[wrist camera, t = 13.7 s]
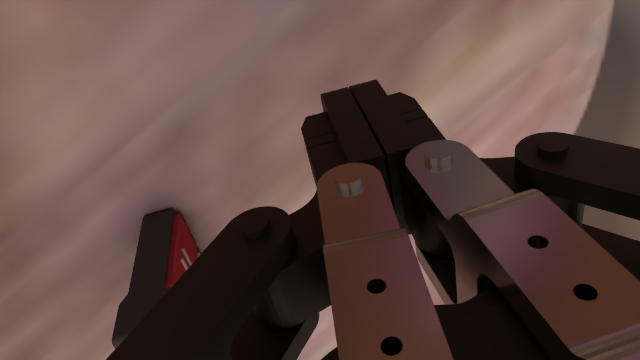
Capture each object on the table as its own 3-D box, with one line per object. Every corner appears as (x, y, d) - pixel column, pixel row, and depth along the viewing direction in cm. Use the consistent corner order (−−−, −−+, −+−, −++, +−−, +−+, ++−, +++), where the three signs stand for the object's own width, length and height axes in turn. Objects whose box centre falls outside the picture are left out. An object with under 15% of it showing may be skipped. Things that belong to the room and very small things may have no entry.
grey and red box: (218, 280, 55) (218, 407, 43) (180, 291, 55) (169, 421, 42) (179, 204, 49) (167, 326, 36) (136, 216, 48) (109, 343, 36)
